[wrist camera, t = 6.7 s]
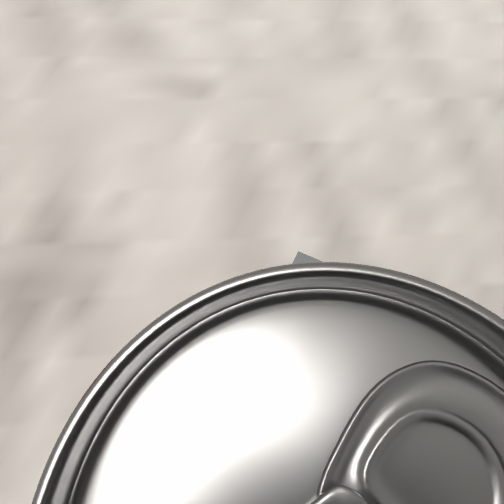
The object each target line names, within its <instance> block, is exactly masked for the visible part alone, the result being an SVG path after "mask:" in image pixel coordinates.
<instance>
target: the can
mask: <svg viewBox="0 0 504 504" xmlns="http://www.w3.org/2000/svg"><path fill="white" fill-rule="evenodd" d="M32 504H504V320H503V319H502V318H500V317H499V316H497V315H496V314H494V313H492V312H491V311H489V310H487V309H486V308H484V307H482V306H481V305H479V304H477V303H475V302H473V301H472V300H470V299H468V298H466V297H464V296H462V295H460V294H458V293H456V292H454V291H451V290H449V289H447V288H445V287H443V286H440V285H437V284H435V283H432V282H430V281H427V280H424V279H421V278H418V277H415V276H412V275H409V274H405V273H402V272H398V271H394V270H390V269H385V268H380V267H375V266H369V265H362V264H353V263H339V262H310V263H297V264H289V265H282V266H276V267H270V268H266V269H261V270H257V271H253V272H250V273H246V274H243V275H240V276H237V277H234V278H231V279H228V280H226V281H223V282H221V283H218V284H216V285H214V286H211V287H209V288H207V289H205V290H203V291H201V292H199V293H197V294H195V295H193V296H191V297H189V298H188V299H186V300H184V301H183V302H181V303H179V304H178V305H176V306H174V307H173V308H171V309H170V310H168V311H167V312H165V313H164V314H162V315H161V316H160V317H158V318H157V319H156V320H154V321H153V322H152V323H151V324H149V325H148V326H147V327H146V328H144V329H143V330H142V331H141V332H140V333H138V334H137V335H136V336H135V337H134V338H133V339H132V340H131V341H130V342H129V343H128V344H127V345H126V346H124V347H123V348H122V349H121V350H120V352H119V353H118V354H117V355H116V356H115V357H114V358H113V359H112V360H111V361H110V362H109V363H108V365H107V366H106V367H105V368H104V369H103V370H102V372H101V373H100V374H99V375H98V377H97V378H96V379H95V380H94V382H93V383H92V384H91V386H90V387H89V389H88V390H87V391H86V393H85V394H84V396H83V397H82V399H81V400H80V402H79V403H78V405H77V406H76V408H75V409H74V411H73V413H72V414H71V416H70V418H69V419H68V421H67V423H66V425H65V426H64V428H63V430H62V432H61V434H60V436H59V438H58V440H57V442H56V444H55V446H54V448H53V450H52V452H51V454H50V456H49V459H48V461H47V463H46V466H45V468H44V471H43V473H42V476H41V478H40V481H39V484H38V487H37V489H36V492H35V495H34V498H33V501H32Z"/></svg>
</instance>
